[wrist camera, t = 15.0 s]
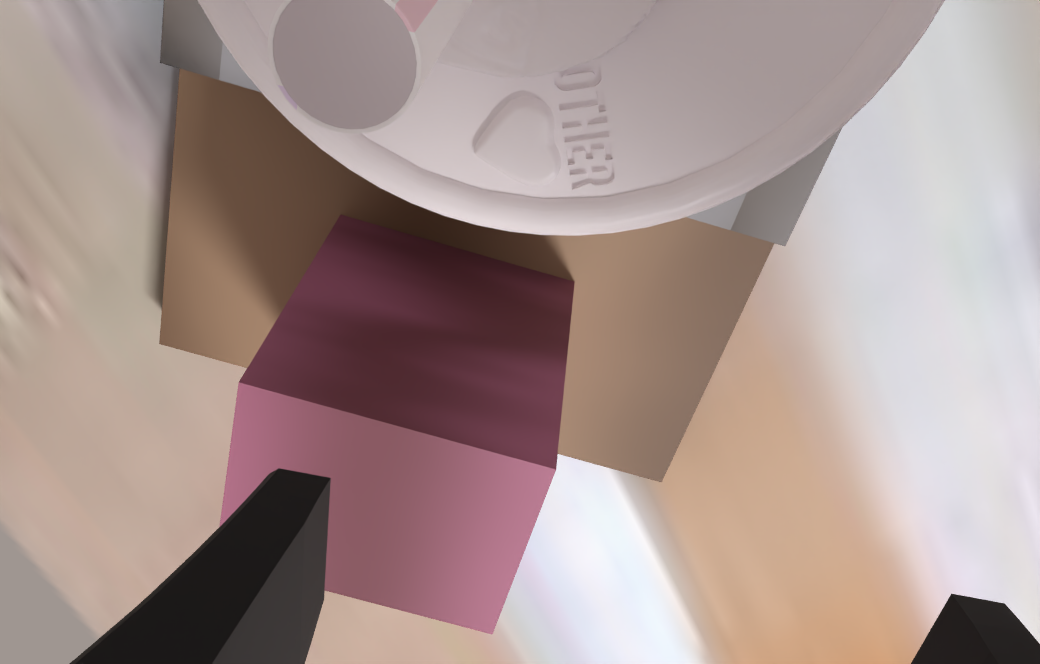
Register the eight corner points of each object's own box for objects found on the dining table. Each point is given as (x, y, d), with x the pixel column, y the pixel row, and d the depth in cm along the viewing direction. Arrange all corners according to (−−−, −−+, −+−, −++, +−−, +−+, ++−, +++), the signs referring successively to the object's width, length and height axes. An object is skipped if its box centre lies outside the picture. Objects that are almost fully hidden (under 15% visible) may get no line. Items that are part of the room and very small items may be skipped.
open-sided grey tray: (1184, -669, 12) (1668, -1024, 7) (660, 460, 23) (670, 701, 17) (282, -998, 12) (-56, -1717, 6) (173, 325, 22) (15, 529, 17)
